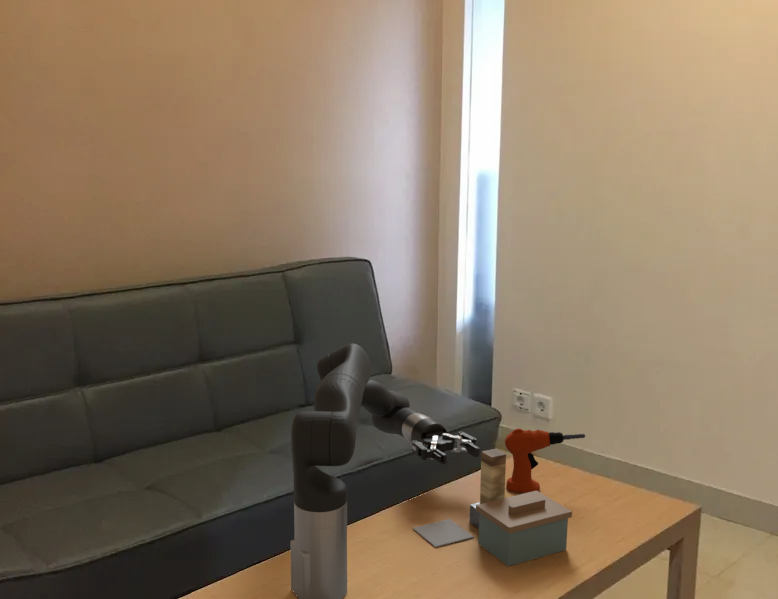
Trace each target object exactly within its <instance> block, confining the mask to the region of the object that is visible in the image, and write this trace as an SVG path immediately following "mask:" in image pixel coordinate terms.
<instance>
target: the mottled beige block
mask: <svg viewBox="0 0 778 599" xmlns="http://www.w3.org/2000/svg"><path fill="white" fill-rule="evenodd" d="M480 456H481V459H480V460H481V461H480V489H479V491H480V492H479V493H480V494H479V502H480V504H482V503H486V502H490V501H495V500H499V499H503V498H506V494H505V493H506V469H507V467H506V466H507V462H506V461H507V454H506V453H504V452H502V450H499V449H497V448H491V449H488V450H483V451H481V453H480Z"/></svg>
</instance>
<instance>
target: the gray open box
mask: <svg viewBox="0 0 778 599" xmlns="http://www.w3.org/2000/svg"><path fill="white" fill-rule="evenodd" d="M478 504H480V501H478V502H475V503H470V504H469V519H468V520H469V522H468V523H469V524H471V525H472V526H475V527H476V529H478V530H479V512H477V511H476V505H478Z"/></svg>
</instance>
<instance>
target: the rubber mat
mask: <svg viewBox="0 0 778 599" xmlns="http://www.w3.org/2000/svg"><path fill="white" fill-rule="evenodd" d="M413 529H414V530H413ZM412 530H413V531H415V533H417V534H418V535H419V534H420V535H419V536H420V537H422V538H423V539H424V540H425V541H426V542H428V543H429V544H430V543H431V544H432V545H431V544H430V545H431V546H433V547H434V548H435V549H436V547H437V548H441V547H444V546H447V545H452V544H456V543H459V541H460V542H463V540H464V541H467V540H471V539H474V536H473V534H471V533H470V532H468V531H467V530H465V529H464V528H463V527H462V526H460V525H458V523H456V522H454V521H453V520H452V519H451V518H446V519H444V520H439V521H435V522H431V523H426V524H423V525H419V526H414V527H412ZM455 542H456V543H455ZM451 543H452V544H451ZM443 545H444V546H443ZM440 546H441V547H440Z"/></svg>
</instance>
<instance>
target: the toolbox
mask: <svg viewBox="0 0 778 599" xmlns="http://www.w3.org/2000/svg"><path fill="white" fill-rule="evenodd" d="M476 511H477V512H479V529H478V541H477V542H478V545H479V546H480V547H482V548H483V549H485V550H486V551H488V552H489V553H490V554H491V555H493V556H494V557H495V558H497V559H499V560H500V562H502V563H503V564H505V565H506V566H508V567H511V566H514V565H517V564H518V565H519V564H521V563H525V562H528V561H531V560H532V561H533V560H535V559H538V558H542V557H545V556H549V555H552V554H556V553H559V552H564V551H567V544H568V543H567V541H568V540H567V539H568V526H569V525H568V523H569V522H568V521H569V519H570V518H572V516H573V511H572V510H570V509H568V508H567V507H565V506H564V505H562V504H561V503H558V502H557V501H555V500H553V499H551V497H549V496H547V495H545V494H543V493H541V492H540V491H533V492H528V493H521V494H516V495H512V496H509V497H505V498H503V499H499V500H495V501H490V502H486V503H482V504H478V505H476Z"/></svg>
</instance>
